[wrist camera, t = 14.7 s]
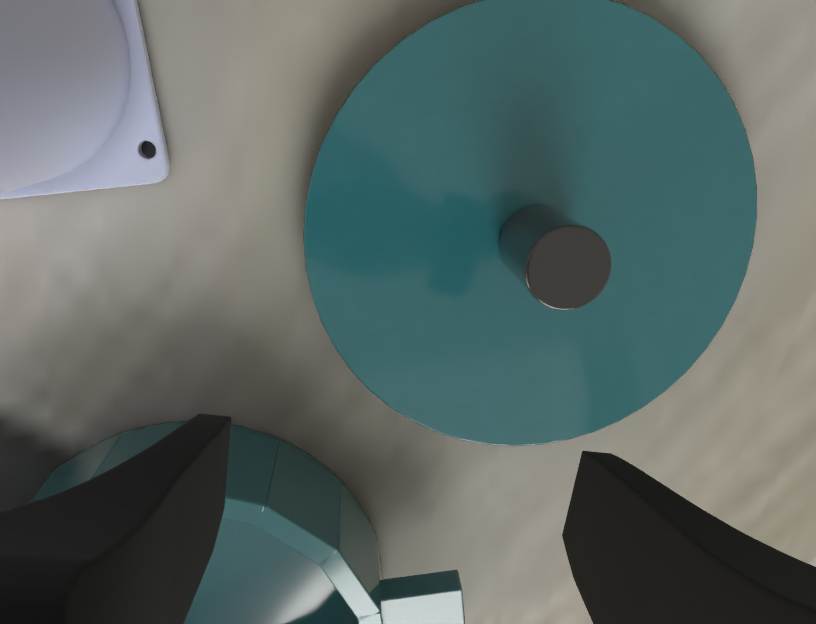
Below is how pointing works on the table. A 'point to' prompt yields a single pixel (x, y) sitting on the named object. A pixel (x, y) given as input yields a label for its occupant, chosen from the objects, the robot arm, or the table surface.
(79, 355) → the table surface
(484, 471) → the table surface
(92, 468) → the pot
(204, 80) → the table surface
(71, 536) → the robot arm
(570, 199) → the pot lid
